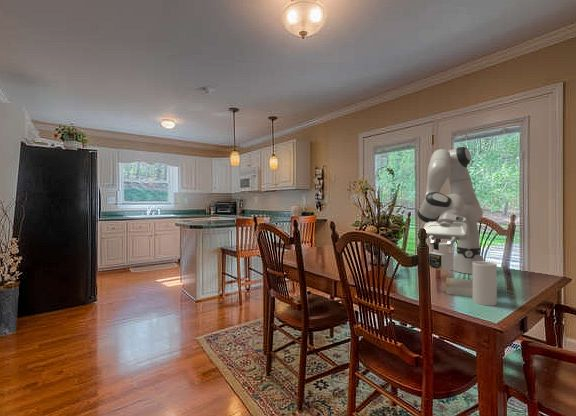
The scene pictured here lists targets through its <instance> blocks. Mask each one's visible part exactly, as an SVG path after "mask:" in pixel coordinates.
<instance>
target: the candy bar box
mask: <svg viewBox="0 0 576 416" xmlns="http://www.w3.org/2000/svg"><path fill="white" fill-rule="evenodd" d="M385 258H386V256H385V254H384V253H382V252H381V263H382V262H383V264H384V263H385ZM392 273H393V274H394V258H393V259H392V258H390V261H389V266H388V270H387V276H388V277H391V275H392Z"/></svg>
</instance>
